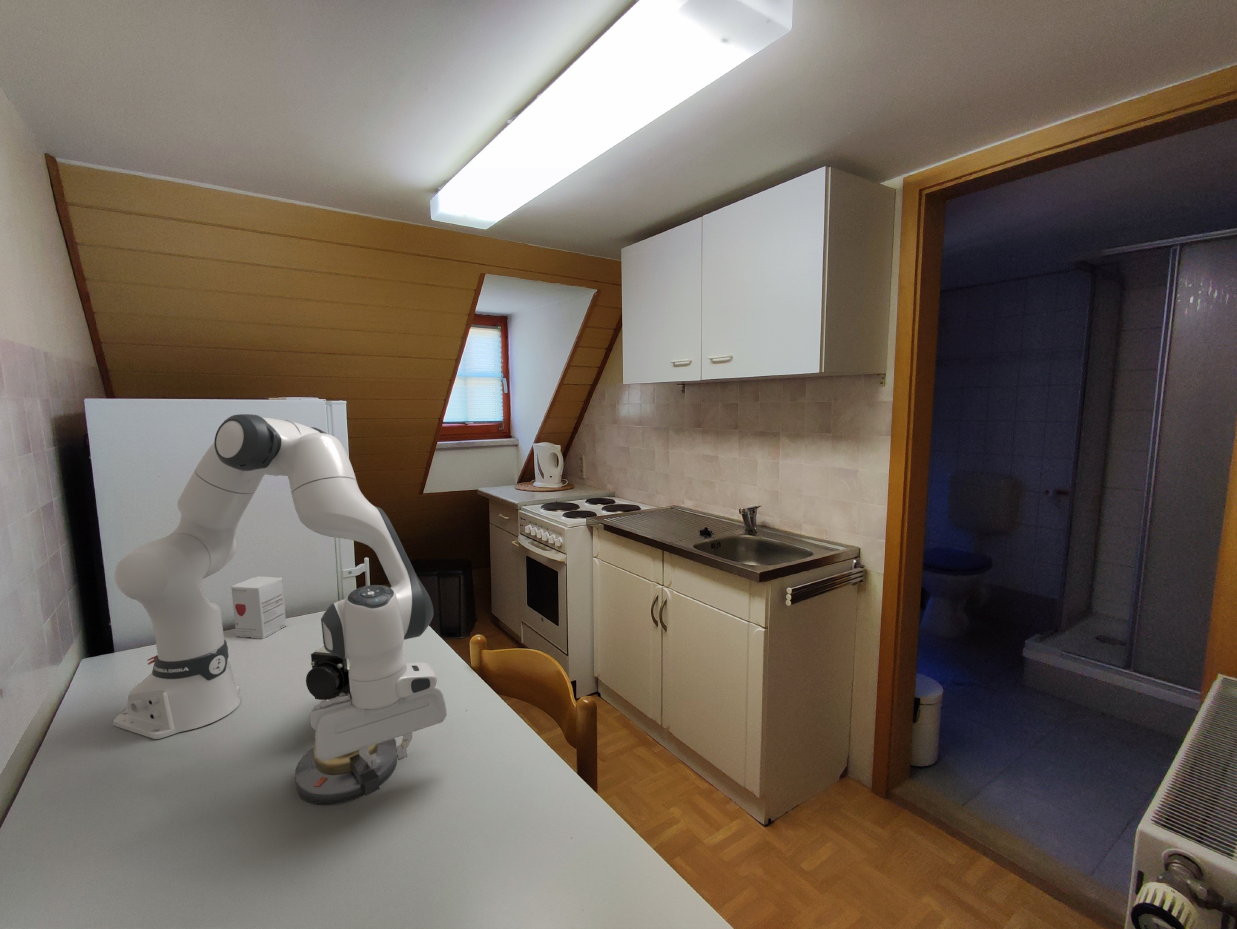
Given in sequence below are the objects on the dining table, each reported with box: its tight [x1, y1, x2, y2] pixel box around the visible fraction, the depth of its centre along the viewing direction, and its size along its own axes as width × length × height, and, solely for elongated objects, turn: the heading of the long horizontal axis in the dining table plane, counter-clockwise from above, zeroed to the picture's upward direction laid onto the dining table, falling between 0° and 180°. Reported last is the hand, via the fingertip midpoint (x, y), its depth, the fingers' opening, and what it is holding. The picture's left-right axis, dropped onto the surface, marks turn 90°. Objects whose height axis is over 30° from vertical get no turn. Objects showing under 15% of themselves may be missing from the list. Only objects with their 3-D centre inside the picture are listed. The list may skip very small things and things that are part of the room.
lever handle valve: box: [313, 743, 381, 796], centre depth 93 cm, size 18×10×4 cm, turn 42°
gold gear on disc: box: [294, 738, 398, 806], centre depth 97 cm, size 16×16×10 cm
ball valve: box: [305, 645, 351, 701], centre depth 114 cm, size 18×8×18 cm, turn 168°
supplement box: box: [230, 576, 287, 640], centre depth 156 cm, size 9×9×15 cm
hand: (387, 762), depth 93 cm, fingers open, 3 cm apart
